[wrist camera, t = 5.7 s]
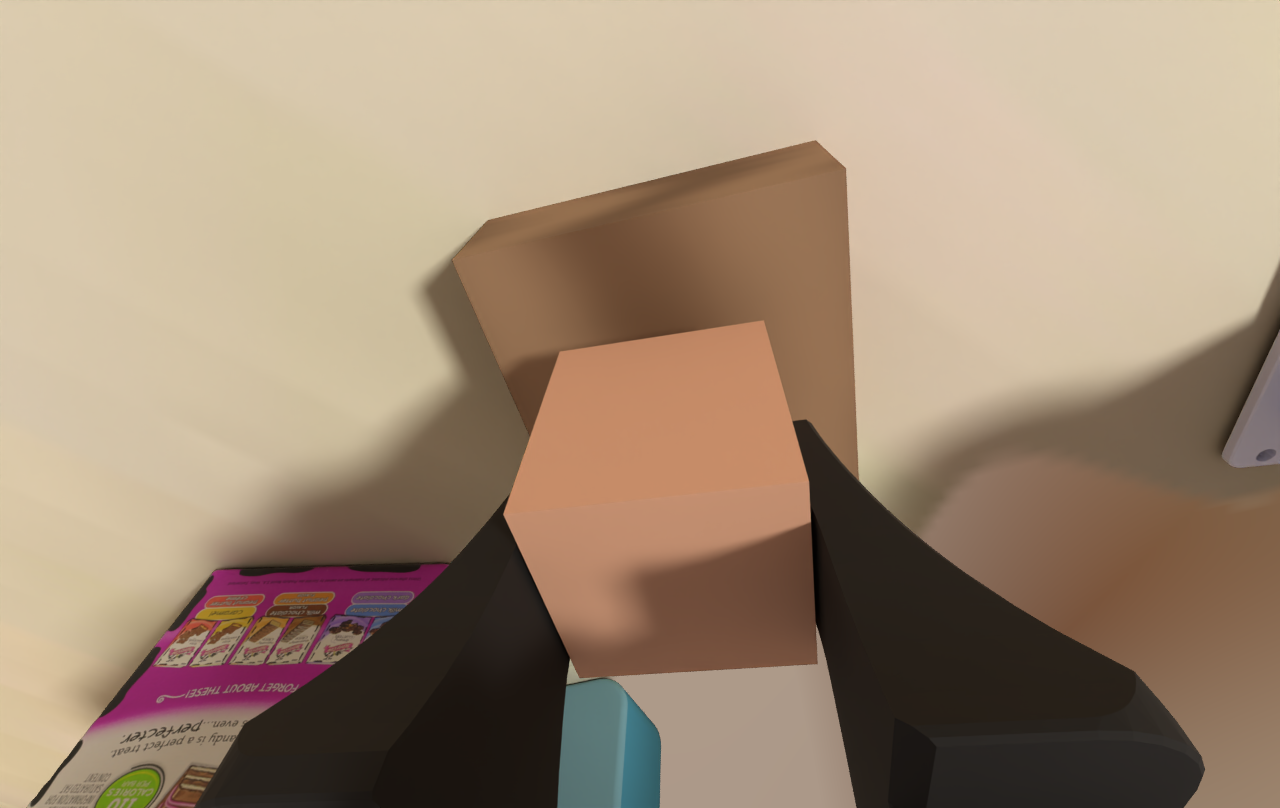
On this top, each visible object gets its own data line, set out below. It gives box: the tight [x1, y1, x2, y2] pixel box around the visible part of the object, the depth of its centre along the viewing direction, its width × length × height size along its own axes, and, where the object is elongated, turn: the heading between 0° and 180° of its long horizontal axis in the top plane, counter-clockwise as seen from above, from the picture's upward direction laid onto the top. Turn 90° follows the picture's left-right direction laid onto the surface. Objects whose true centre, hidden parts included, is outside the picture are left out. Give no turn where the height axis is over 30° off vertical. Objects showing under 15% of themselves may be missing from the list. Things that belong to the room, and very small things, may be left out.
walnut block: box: [452, 140, 859, 481], centre depth 17 cm, size 9×9×4 cm
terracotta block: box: [503, 320, 817, 678], centre depth 12 cm, size 4×4×5 cm
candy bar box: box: [26, 563, 449, 808], centre depth 20 cm, size 11×5×16 cm, turn 95°
